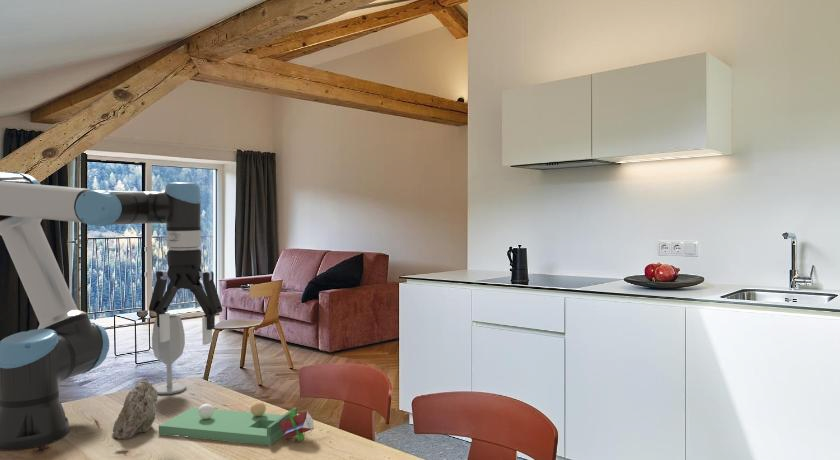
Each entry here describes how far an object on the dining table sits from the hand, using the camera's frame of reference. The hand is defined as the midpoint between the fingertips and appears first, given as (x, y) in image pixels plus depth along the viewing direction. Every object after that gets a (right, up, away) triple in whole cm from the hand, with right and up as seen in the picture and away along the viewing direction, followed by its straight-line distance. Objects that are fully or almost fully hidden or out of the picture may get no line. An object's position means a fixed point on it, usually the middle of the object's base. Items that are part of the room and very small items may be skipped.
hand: (186, 342), depth 145 cm
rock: (-11, -20, -1) cm, 23 cm away
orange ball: (+17, -16, +1) cm, 23 cm away
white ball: (+5, -16, -1) cm, 17 cm away
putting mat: (+11, -20, -2) cm, 23 cm away
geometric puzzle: (+28, -20, -8) cm, 35 cm away
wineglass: (-15, -19, +29) cm, 38 cm away
